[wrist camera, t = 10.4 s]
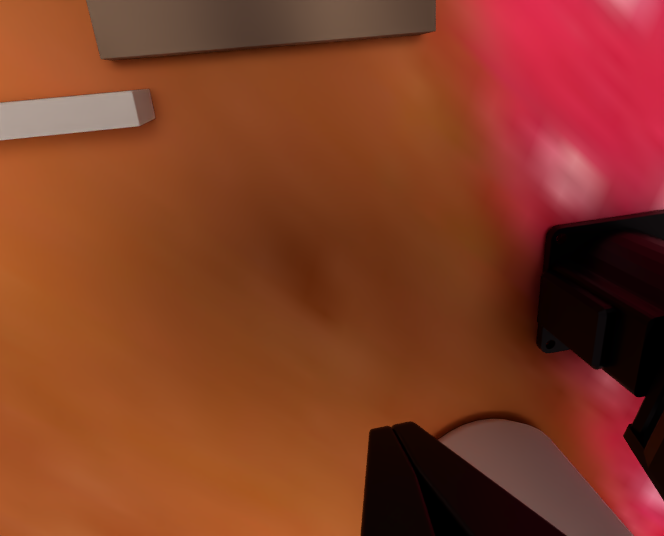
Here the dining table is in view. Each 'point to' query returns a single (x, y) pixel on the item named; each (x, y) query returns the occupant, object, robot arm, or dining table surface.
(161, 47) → the board
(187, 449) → the dining table surface
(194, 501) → the dining table surface
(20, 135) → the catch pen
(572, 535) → the alcohol
